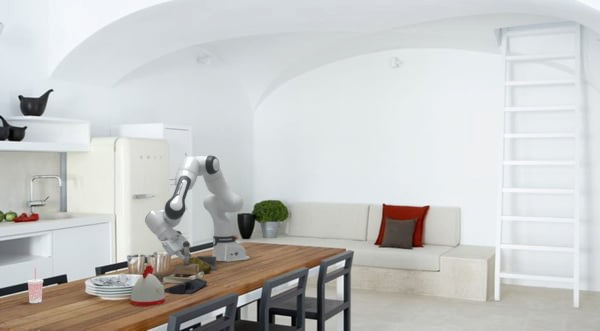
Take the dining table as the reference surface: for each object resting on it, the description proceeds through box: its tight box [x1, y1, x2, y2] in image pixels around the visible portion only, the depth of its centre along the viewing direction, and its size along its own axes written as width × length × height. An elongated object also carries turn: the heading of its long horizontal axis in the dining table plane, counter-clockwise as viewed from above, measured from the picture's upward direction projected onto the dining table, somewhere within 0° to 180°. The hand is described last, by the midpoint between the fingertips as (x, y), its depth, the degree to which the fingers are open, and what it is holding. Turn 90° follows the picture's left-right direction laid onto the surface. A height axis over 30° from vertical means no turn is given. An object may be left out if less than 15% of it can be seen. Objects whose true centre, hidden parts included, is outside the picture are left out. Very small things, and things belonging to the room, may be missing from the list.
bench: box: [162, 255, 217, 284], centre depth 314 cm, size 39×14×7 cm, turn 166°
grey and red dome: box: [130, 265, 166, 307], centre depth 257 cm, size 14×14×15 cm
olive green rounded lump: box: [189, 256, 212, 274], centre depth 322 cm, size 8×13×8 cm, turn 58°
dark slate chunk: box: [164, 278, 208, 295], centre depth 282 cm, size 15×22×5 cm
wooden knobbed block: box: [173, 240, 199, 277], centre depth 307 cm, size 7×11×18 cm, turn 76°
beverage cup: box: [27, 267, 44, 304], centre depth 257 cm, size 6×6×14 cm
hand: (187, 257), depth 306 cm, fingers open, 6 cm apart
